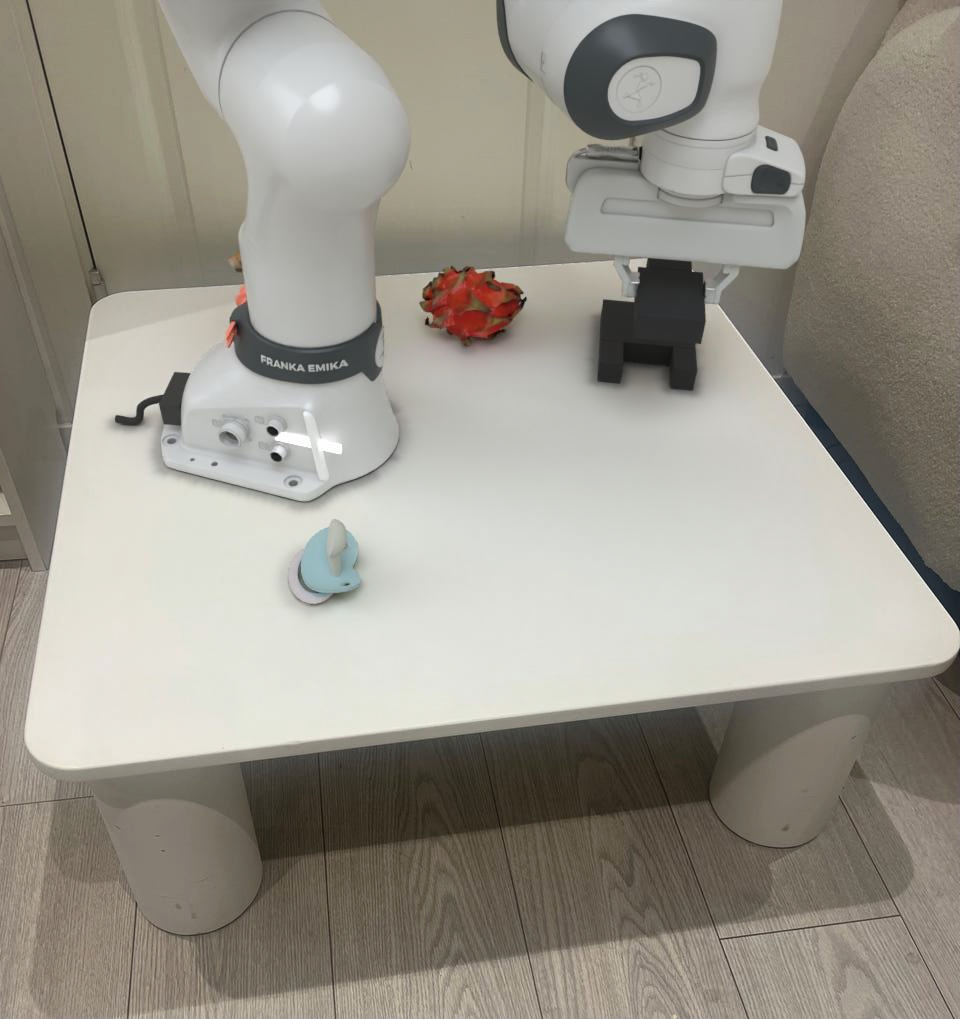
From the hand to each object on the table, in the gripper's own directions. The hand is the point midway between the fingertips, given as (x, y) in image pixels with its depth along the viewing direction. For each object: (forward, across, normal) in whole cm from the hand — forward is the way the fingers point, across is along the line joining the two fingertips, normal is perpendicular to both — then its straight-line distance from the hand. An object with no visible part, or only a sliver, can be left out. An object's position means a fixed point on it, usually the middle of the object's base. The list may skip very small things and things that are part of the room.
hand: (669, 297), depth 92 cm
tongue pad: (+2, 0, +1) cm, 2 cm away
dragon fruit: (+14, -19, +12) cm, 27 cm away
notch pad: (+14, 0, +11) cm, 18 cm away
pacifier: (+14, -27, -26) cm, 40 cm away
